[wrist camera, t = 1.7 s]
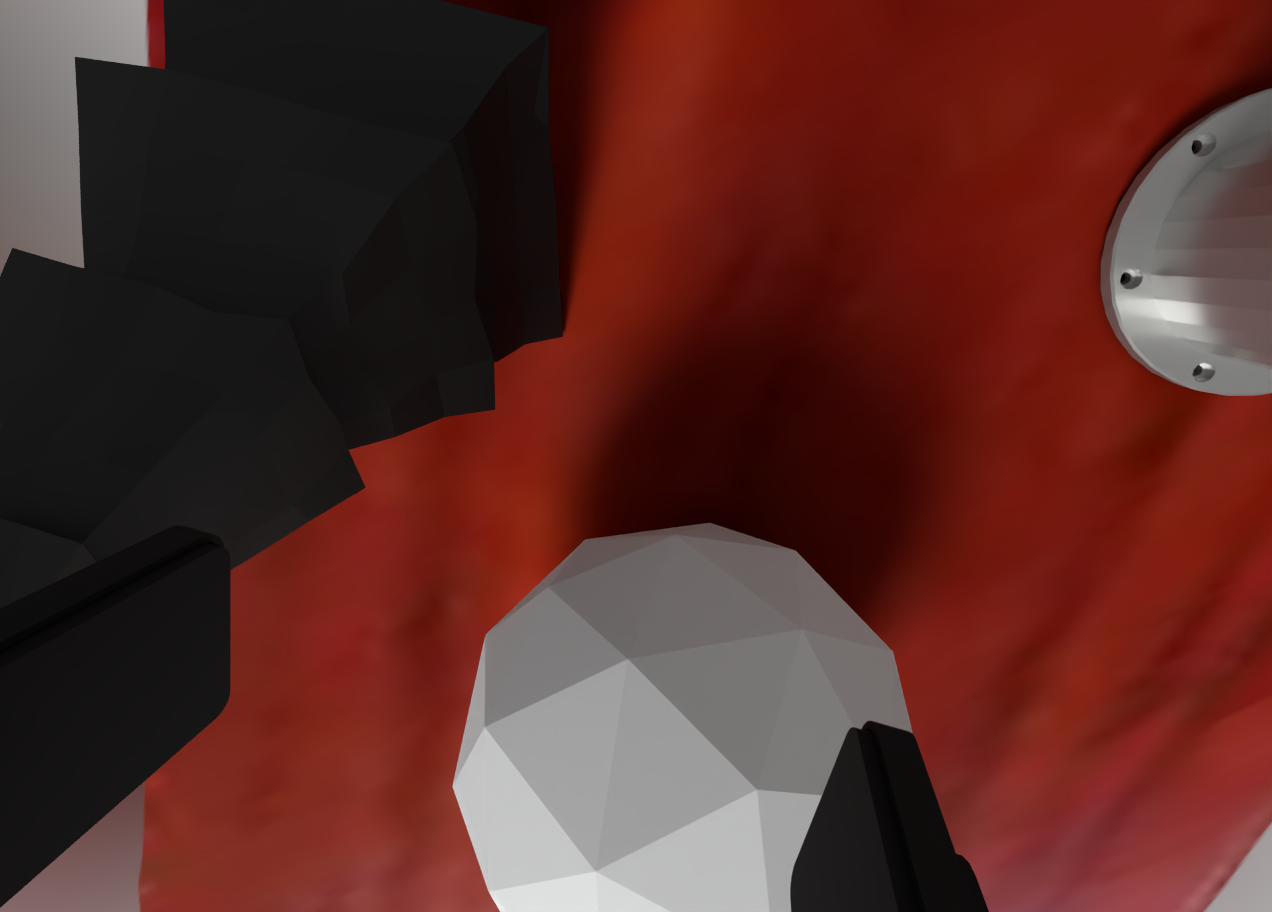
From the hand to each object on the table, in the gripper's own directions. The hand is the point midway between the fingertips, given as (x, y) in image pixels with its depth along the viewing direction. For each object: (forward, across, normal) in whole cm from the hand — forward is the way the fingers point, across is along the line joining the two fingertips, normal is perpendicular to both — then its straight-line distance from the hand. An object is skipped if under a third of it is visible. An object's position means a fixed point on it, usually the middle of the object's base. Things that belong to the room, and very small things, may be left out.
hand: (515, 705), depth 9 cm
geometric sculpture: (+26, -4, +14) cm, 30 cm away
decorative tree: (+26, +14, -1) cm, 29 cm away
